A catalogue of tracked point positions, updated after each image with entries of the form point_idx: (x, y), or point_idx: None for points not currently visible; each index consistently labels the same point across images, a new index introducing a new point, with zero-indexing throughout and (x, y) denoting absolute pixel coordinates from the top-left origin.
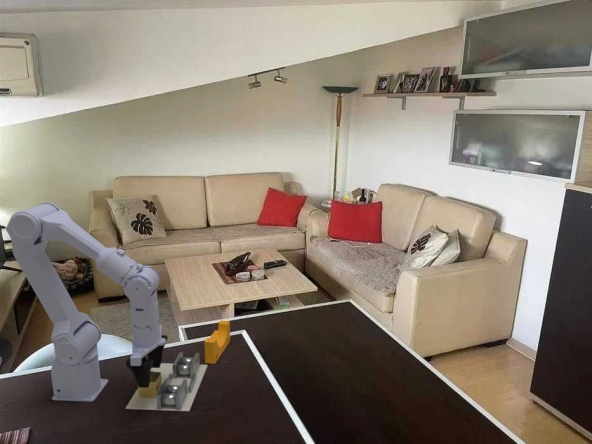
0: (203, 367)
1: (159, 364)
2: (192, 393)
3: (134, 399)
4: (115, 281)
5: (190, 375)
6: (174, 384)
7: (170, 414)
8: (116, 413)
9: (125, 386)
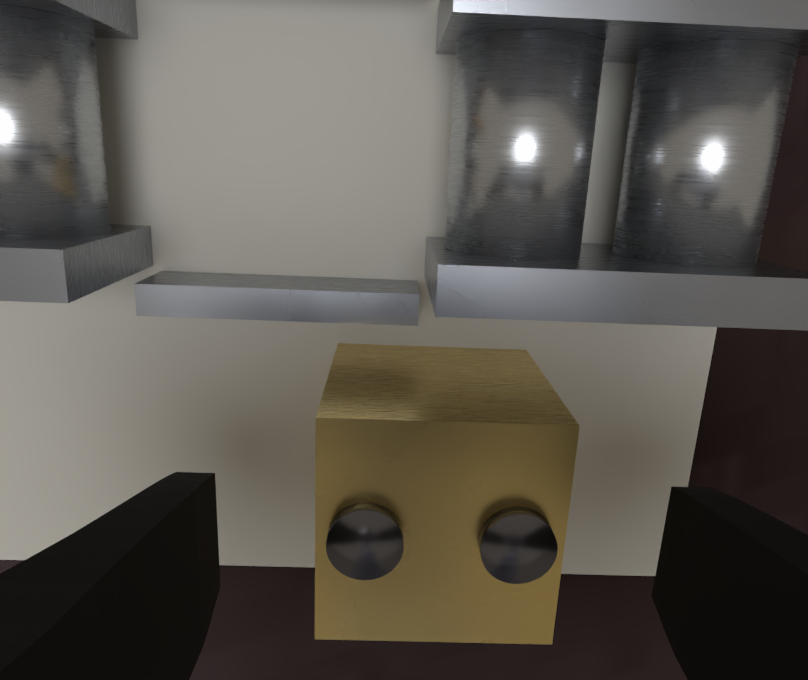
0: None
1: (195, 499)
2: None
3: None
4: None
5: (117, 26)
6: (276, 218)
7: (787, 129)
8: None
9: (322, 672)
